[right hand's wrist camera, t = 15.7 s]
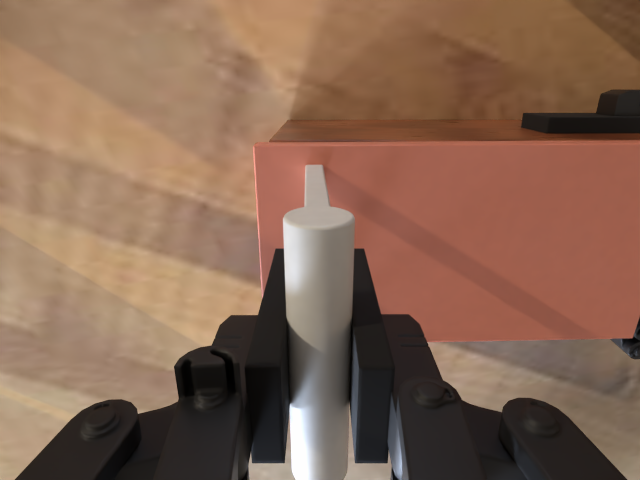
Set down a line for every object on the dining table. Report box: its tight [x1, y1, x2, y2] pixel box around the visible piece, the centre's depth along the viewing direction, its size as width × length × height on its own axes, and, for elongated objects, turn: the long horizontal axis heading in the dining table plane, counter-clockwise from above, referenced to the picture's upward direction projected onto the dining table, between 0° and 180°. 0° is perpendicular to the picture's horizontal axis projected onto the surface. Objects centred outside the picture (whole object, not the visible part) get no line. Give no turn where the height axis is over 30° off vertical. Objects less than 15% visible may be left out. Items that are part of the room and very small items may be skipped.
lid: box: [253, 140, 640, 480], centre depth 14 cm, size 18×9×9 cm, turn 90°
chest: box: [269, 120, 640, 142], centre depth 23 cm, size 17×9×10 cm, turn 90°
